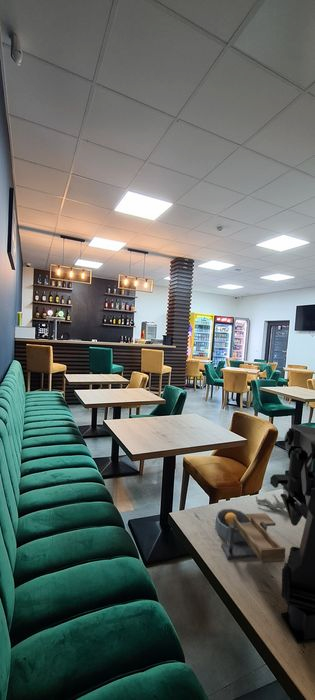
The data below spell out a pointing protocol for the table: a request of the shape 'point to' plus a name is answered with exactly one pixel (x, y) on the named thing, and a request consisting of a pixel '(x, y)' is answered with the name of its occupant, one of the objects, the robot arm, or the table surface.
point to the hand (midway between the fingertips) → (294, 524)
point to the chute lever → (260, 537)
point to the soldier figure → (274, 505)
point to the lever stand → (238, 545)
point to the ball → (230, 518)
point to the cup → (223, 527)
